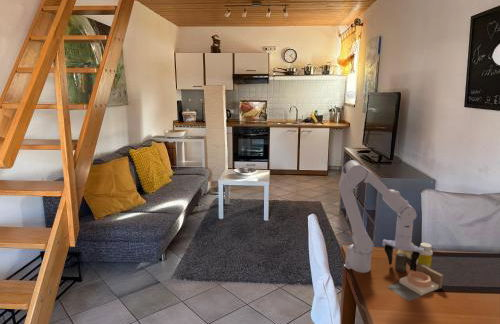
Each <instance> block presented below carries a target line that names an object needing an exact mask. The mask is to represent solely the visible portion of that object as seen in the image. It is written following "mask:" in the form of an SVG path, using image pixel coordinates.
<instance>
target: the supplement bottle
mask: <svg viewBox="0 0 500 324" xmlns="http://www.w3.org/2000/svg"><path fill="white" fill-rule="evenodd" d="M419 247H420V248H424V253H423V255H419V257H418V259H417V260H416V262H415V263H416V266H417V264H418V263H420V264H422V265H424V266H426V267H428V268H430V269H432V262H433V254H434V252H433V250H432V244H430V243H428V242H421V243H420V245H419Z"/></svg>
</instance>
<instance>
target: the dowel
mask: <svg viewBox="0 0 500 324" xmlns="http://www.w3.org/2000/svg"><path fill="white" fill-rule="evenodd" d="M394 261H395V264H394V270H396V272H399V273H401V272H402V273H405V272H406V271H407V266H408V265H407V263H408V258H407V255H406V254H403V253H397V252H396V253H395V260H394Z"/></svg>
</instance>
